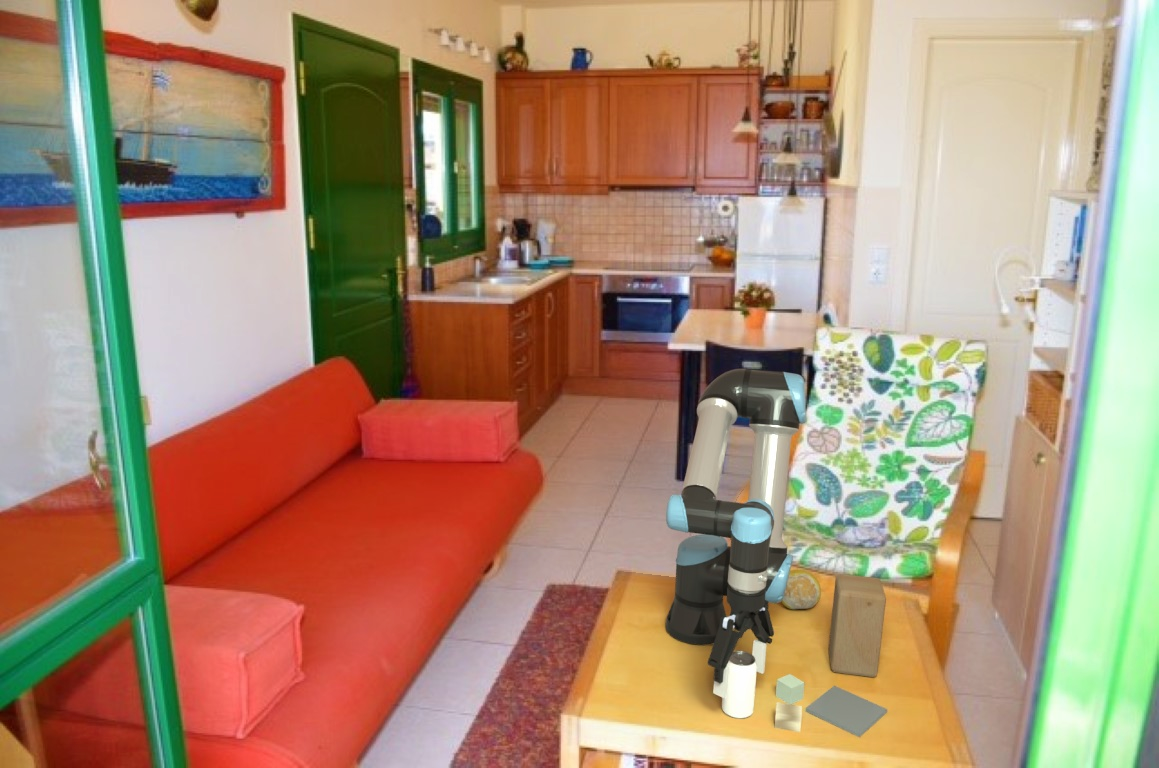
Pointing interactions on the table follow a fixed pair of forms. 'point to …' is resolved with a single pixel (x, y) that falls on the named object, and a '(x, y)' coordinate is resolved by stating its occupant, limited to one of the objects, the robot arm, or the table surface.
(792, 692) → the sage painted cube
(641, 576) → the table surface
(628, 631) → the table surface
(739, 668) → the can
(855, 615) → the wooden block
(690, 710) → the table surface
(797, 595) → the fruit
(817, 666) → the table surface
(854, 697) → the slate coaster
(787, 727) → the pale birch block
